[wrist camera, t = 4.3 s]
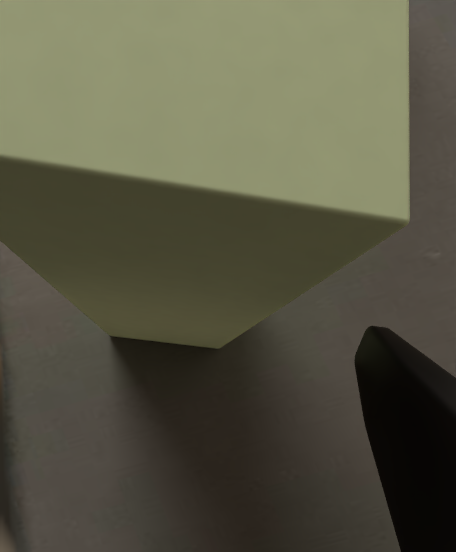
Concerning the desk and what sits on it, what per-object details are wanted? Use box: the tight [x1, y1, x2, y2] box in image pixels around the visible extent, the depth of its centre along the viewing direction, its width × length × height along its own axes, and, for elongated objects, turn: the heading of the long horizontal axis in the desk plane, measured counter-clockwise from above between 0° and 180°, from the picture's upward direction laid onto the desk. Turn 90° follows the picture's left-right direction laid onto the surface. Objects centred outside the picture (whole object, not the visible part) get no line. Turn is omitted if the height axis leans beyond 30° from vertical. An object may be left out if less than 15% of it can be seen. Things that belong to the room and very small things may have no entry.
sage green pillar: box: [0, 0, 410, 349], centre depth 12 cm, size 5×5×16 cm
